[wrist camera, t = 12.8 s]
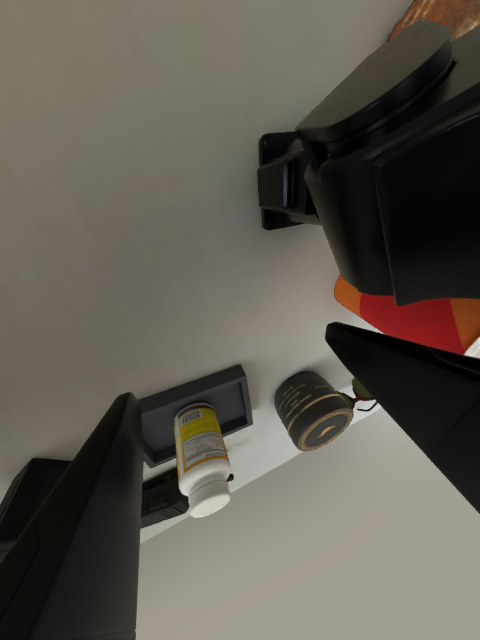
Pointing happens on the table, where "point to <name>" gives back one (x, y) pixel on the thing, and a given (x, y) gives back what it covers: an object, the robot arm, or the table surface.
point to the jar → (311, 411)
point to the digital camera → (27, 498)
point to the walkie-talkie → (163, 499)
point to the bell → (442, 15)
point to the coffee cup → (419, 319)
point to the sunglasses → (358, 395)
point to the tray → (216, 390)
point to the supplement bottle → (201, 459)
